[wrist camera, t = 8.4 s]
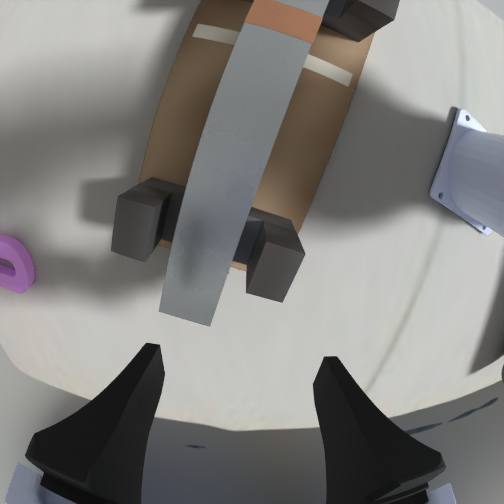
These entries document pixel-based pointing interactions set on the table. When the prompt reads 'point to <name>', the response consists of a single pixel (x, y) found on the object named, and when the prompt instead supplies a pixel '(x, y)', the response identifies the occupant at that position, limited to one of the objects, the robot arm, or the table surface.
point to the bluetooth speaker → (503, 373)
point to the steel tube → (236, 151)
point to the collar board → (284, 149)
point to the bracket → (15, 265)
